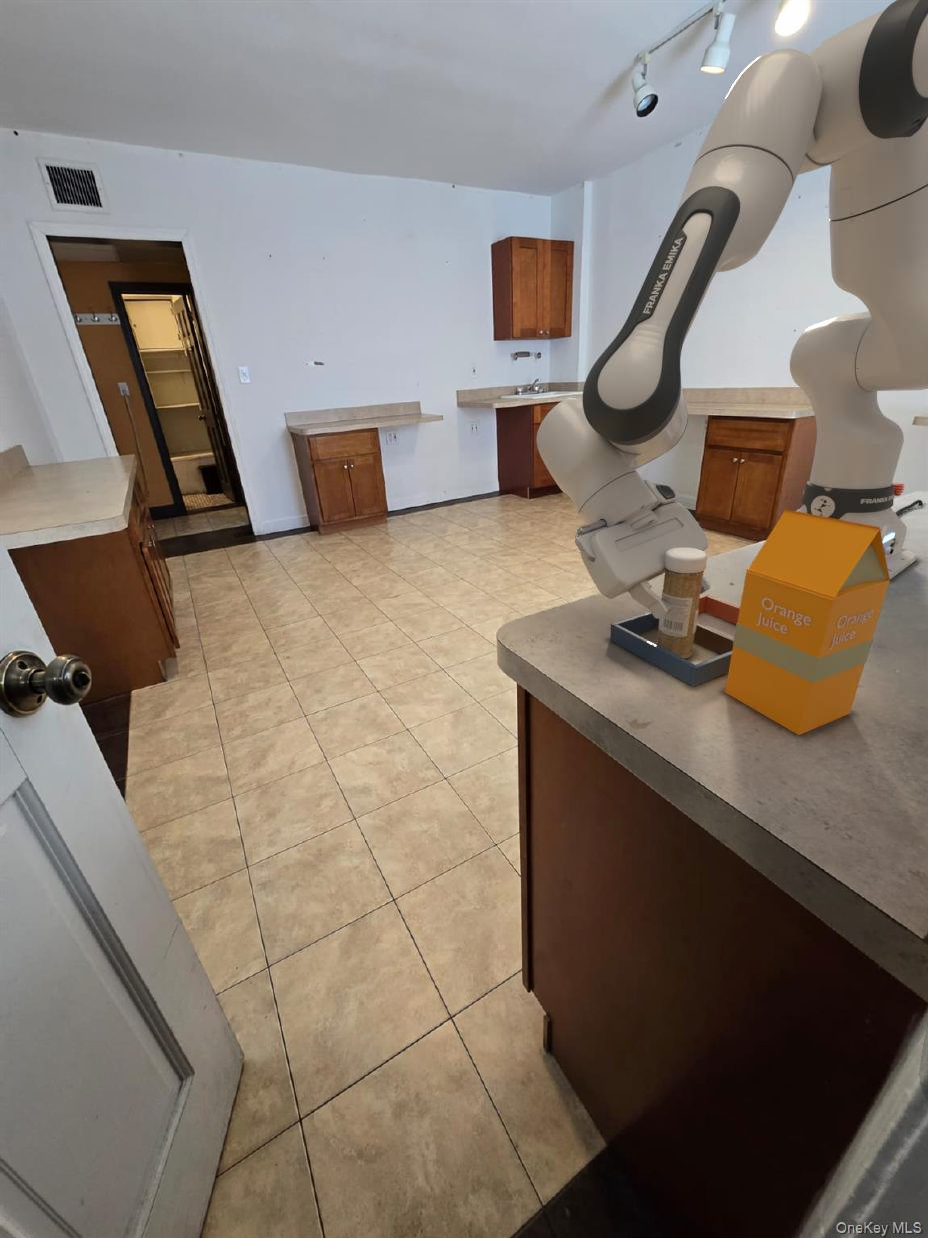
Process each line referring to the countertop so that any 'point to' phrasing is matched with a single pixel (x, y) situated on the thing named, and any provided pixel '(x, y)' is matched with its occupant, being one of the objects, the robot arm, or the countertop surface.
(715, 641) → the sorting tray
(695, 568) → the sprinkles bottle
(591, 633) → the countertop surface
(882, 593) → the orange juice
